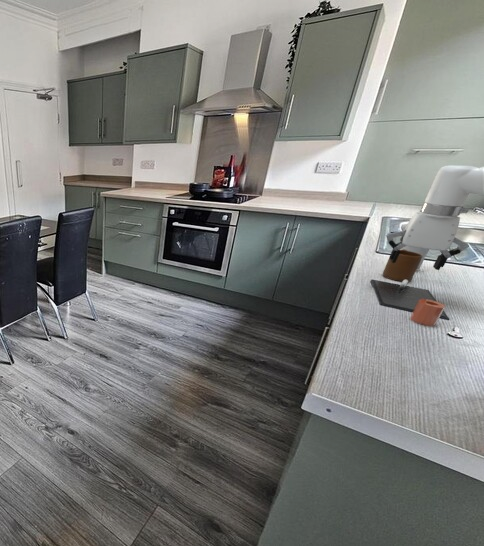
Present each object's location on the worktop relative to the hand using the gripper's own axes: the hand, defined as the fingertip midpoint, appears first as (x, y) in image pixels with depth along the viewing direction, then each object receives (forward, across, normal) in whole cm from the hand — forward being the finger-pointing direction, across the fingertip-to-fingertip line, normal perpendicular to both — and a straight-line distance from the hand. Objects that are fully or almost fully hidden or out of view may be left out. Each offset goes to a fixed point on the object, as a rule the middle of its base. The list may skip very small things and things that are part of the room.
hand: (413, 265), depth 97 cm
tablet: (+10, 0, +6) cm, 11 cm away
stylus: (+7, +1, +1) cm, 7 cm away
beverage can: (+10, -6, -30) cm, 32 cm away
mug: (+10, -1, -17) cm, 20 cm away
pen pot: (+10, -1, +22) cm, 24 cm away
